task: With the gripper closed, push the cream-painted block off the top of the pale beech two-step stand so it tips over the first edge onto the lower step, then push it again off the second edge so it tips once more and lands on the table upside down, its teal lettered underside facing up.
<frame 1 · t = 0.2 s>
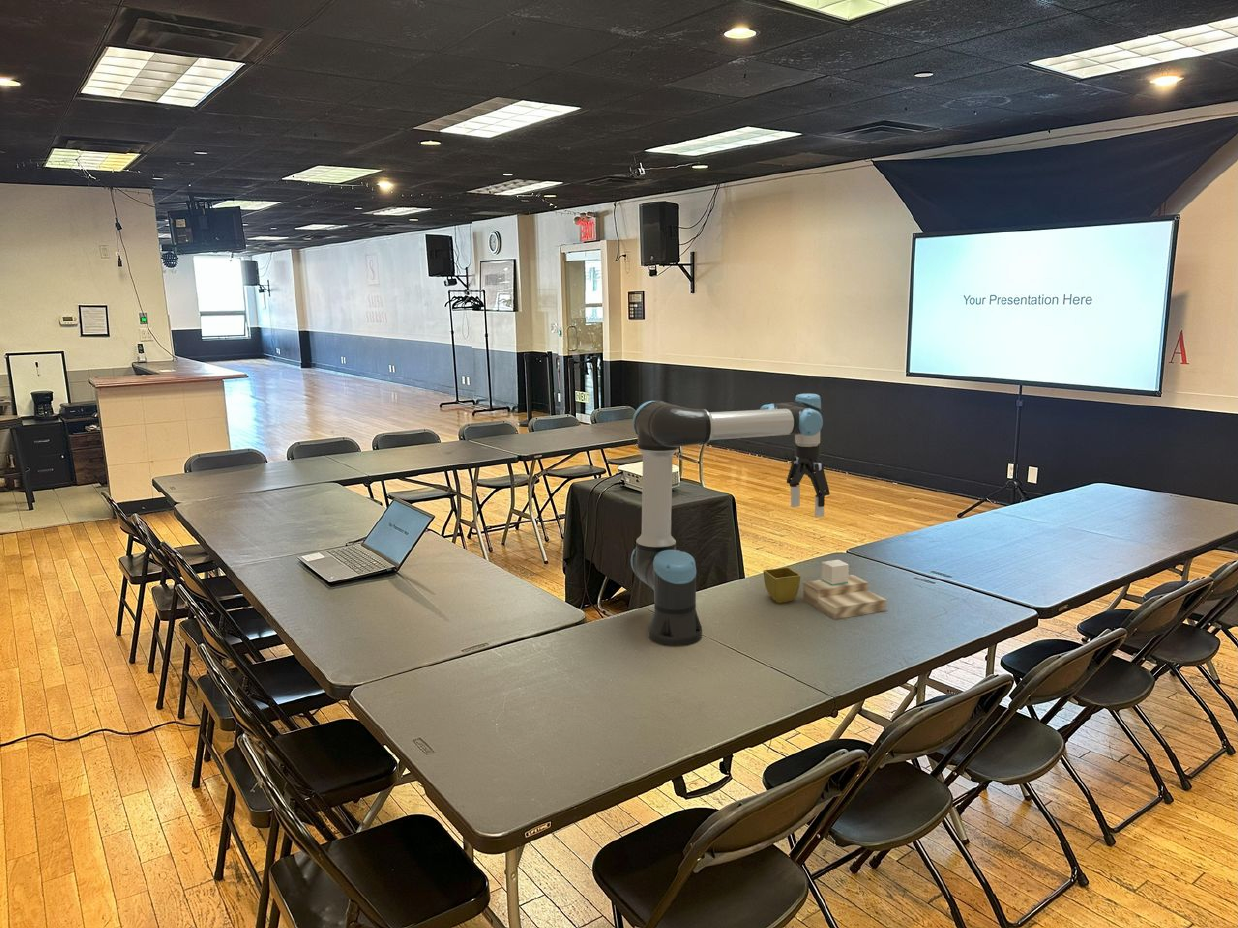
hand: (807, 511, 249), 27 cm above the table, fingers open, 13 cm apart
flower pot: (781, 600, 251), on the table
beech steps: (846, 606, 244), on the table
cream block: (834, 581, 249), point 6 cm above the table, touching beech steps
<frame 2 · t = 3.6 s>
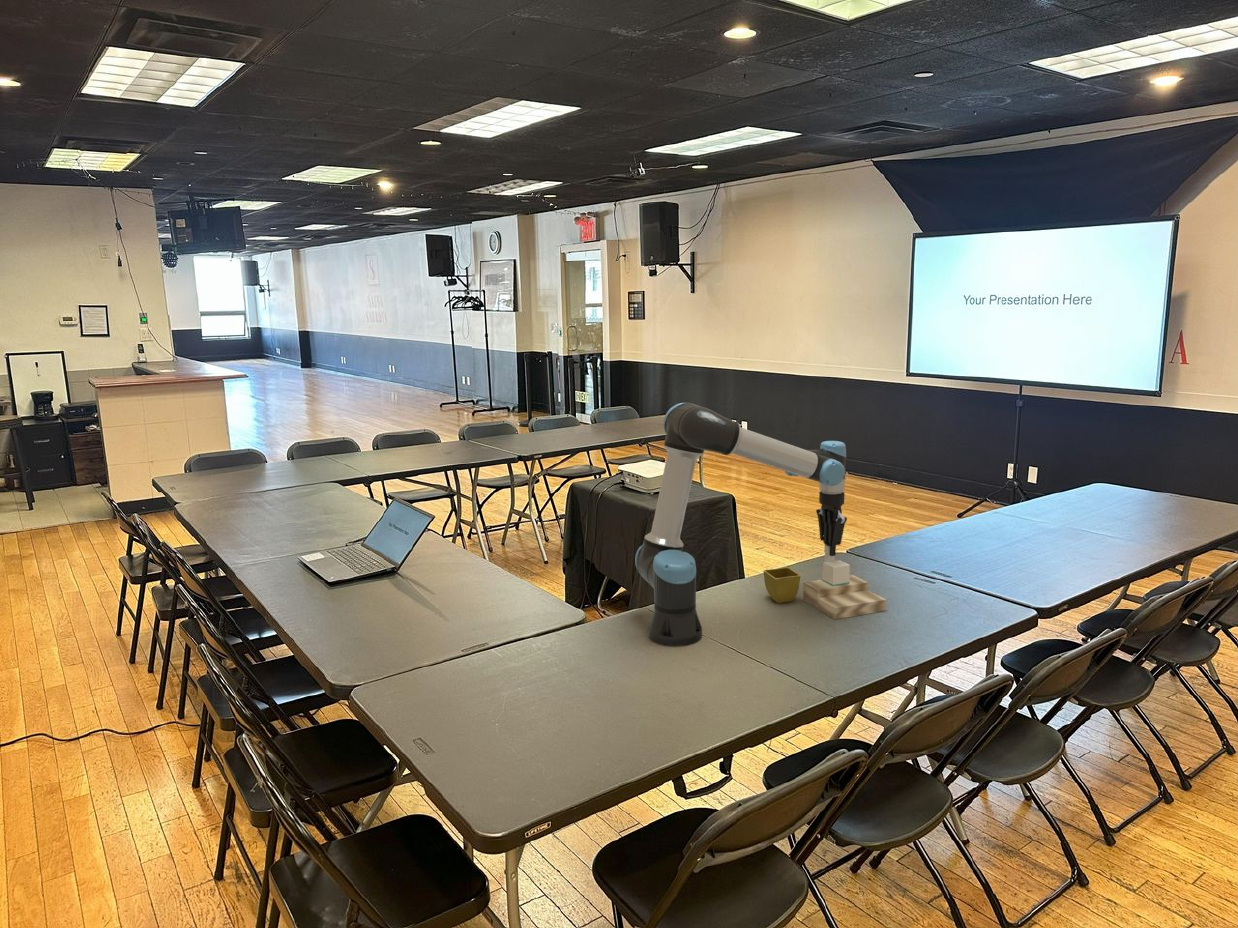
hand: (829, 564, 250), 11 cm above the table, fingers closed
cream block: (835, 582, 248), point 6 cm above the table
everything else where it was.
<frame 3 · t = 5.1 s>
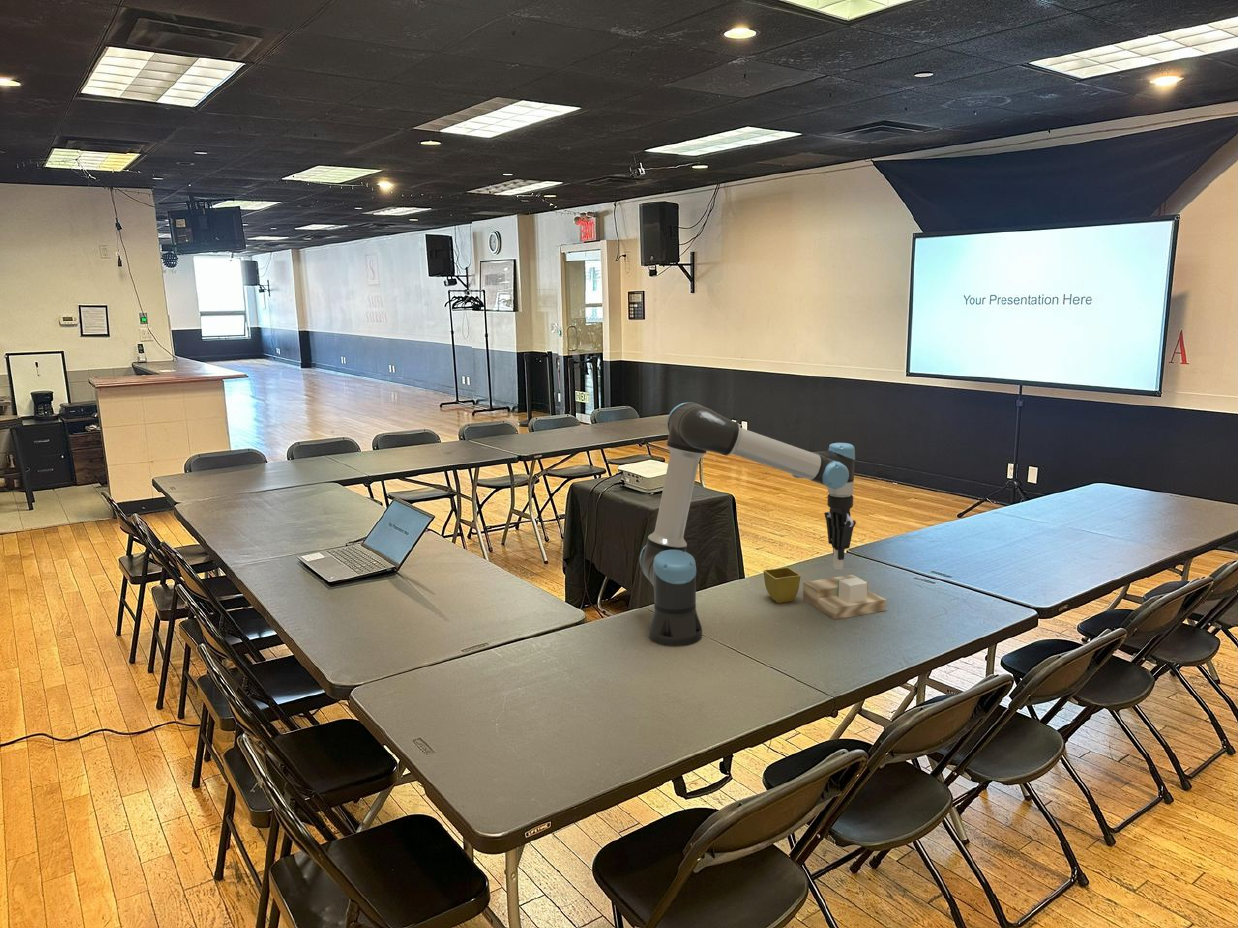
hand: (838, 568, 246), 11 cm above the table, fingers closed
cream block: (846, 586, 243), point 6 cm above the table, tilted 90°, touching beech steps
everything else where it was.
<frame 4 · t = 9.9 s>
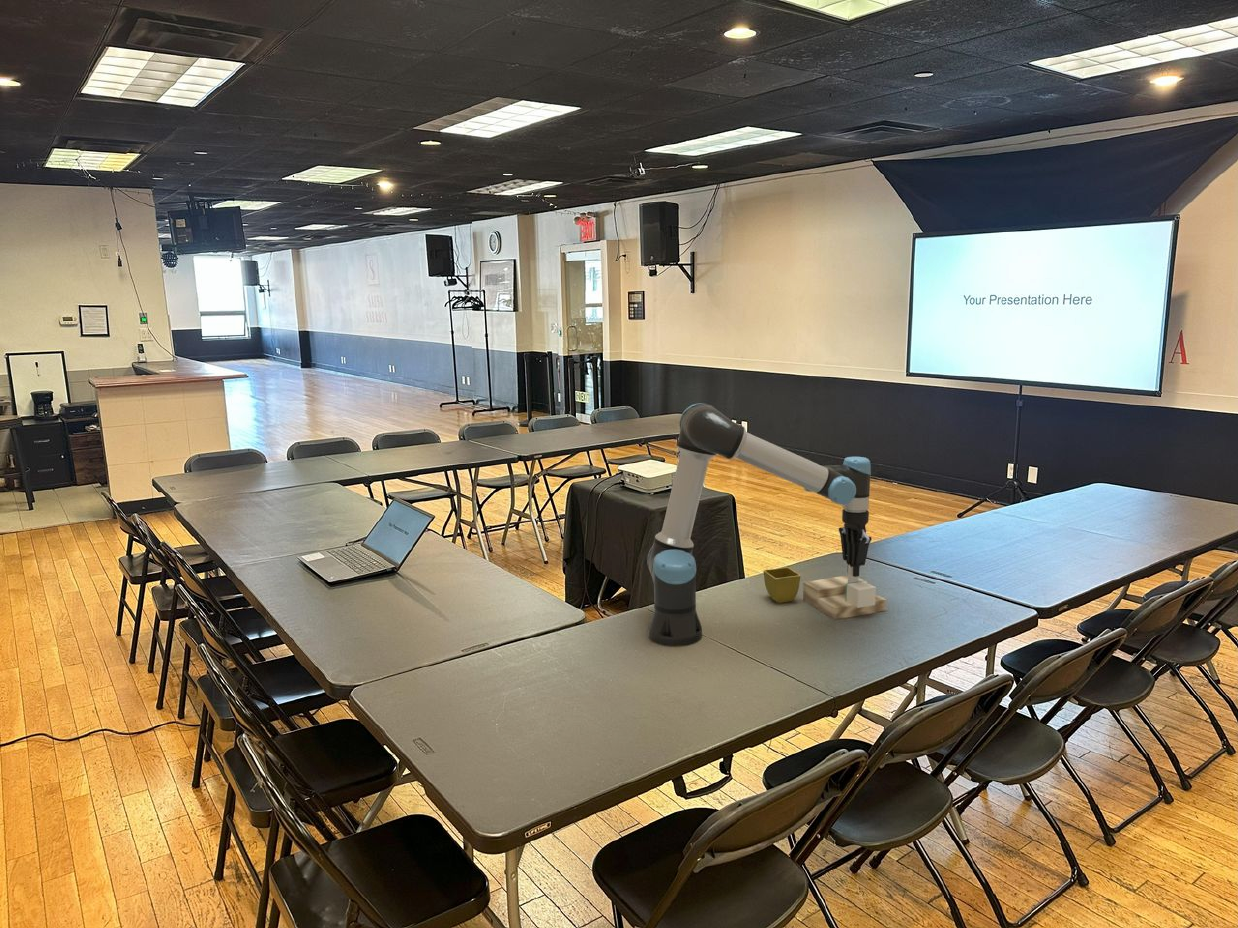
hand: (852, 585, 240), 8 cm above the table, fingers closed
cream block: (854, 590, 239), point 6 cm above the table, tilted 91°, touching beech steps, gripper
everything else where it was.
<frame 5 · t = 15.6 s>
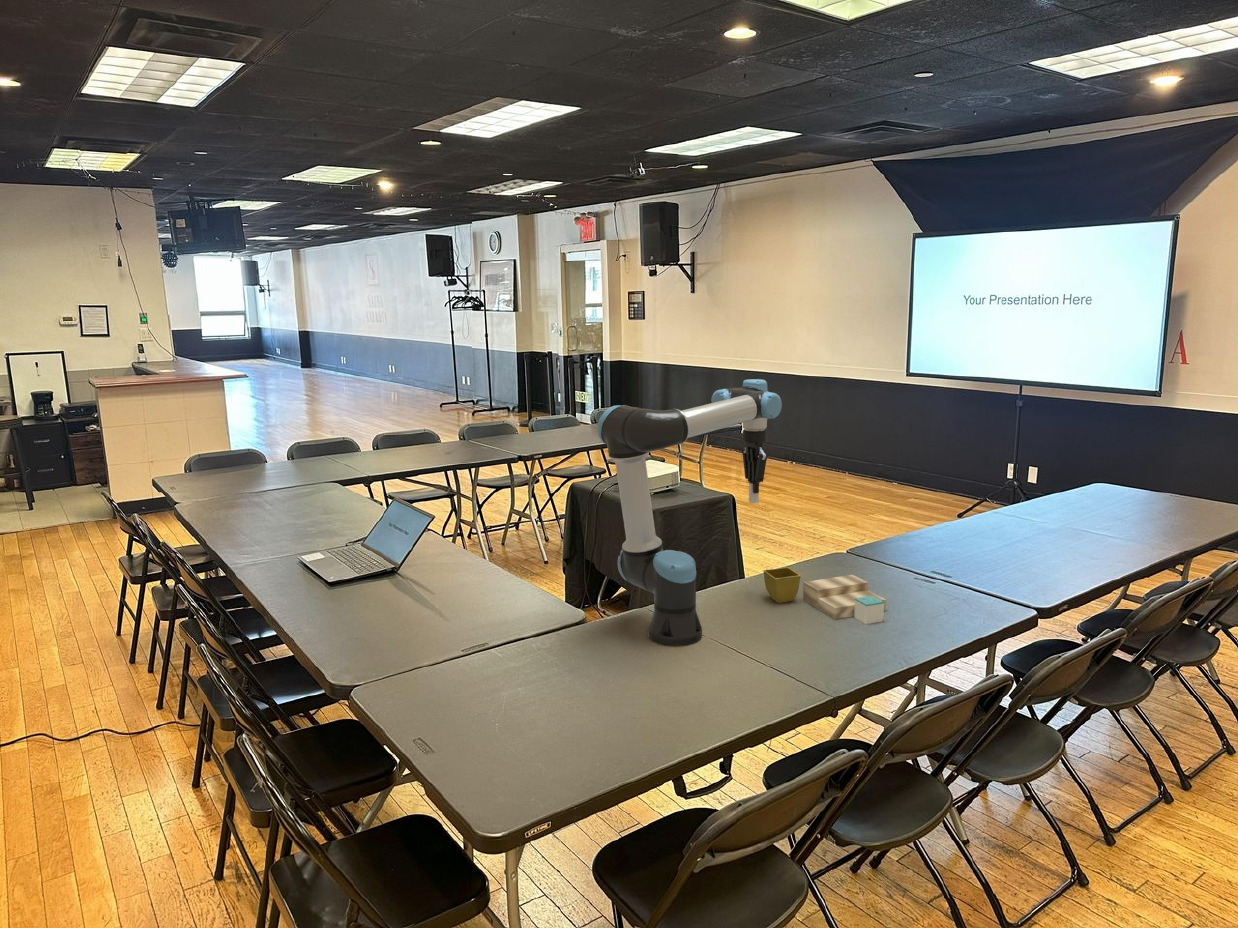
hand: (753, 502, 254), 29 cm above the table, fingers closed
cream block: (869, 600, 233), point 6 cm above the table, tilted 180°
everything else where it was.
at the end: cream block tilted 180°; cream block inside the target area (3.9 cm from its centre), point 5.9 cm above the table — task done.
